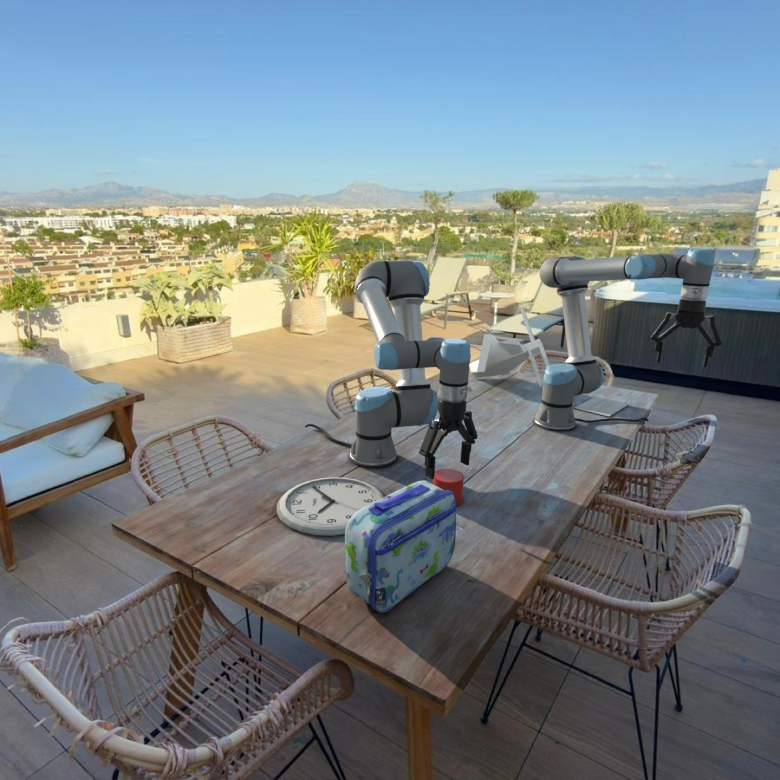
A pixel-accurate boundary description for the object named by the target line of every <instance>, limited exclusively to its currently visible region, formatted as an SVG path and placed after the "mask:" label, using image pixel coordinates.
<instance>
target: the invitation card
mask: <svg viewBox="0 0 780 780" xmlns="http://www.w3.org/2000/svg"><path fill="white" fill-rule="evenodd" d="M628 406H629V404H627V403H623V402H618V401H614V400H609V399H605V398H601V397H596V396H593V397H592V398H590V399H588V400H586V401H584V402H582V403H580V404H578V405H575V406H574V407H573V409H575V410H581V411H584V412H587V413H593V414H596V415H600V416H604V417H608V418H610V417H611V416H613V415H614V414H616V413H617V412H619V411H621V410H623V409H624V408H626V407H628Z"/></svg>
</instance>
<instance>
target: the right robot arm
mask: <svg viewBox="0 0 780 780" xmlns="http://www.w3.org/2000/svg"><path fill="white" fill-rule="evenodd" d="M715 257H716V251H715V250H714V249H709V248H690V249H689V250H688V252H687V253H686V254H676V253H675V254H674V253H665V252H662V253H653V254H646V253H643V254H642V253H641V254H635V255H624V256H611V257H600V258H589V259H586V258H585V257H581V256H576V255H573V256H553V257H550V258H548V259H546V260H545V261H544V262H543V263H542V265H541V266H540V268H539V273H538V274H539V279H540V281H541V282H542V284H544V285H545V286H546V287H548V288H551V289H556V294H557V296H559V297H560V298H561V302H562V303H561V304H562V310H563V311H562V312H563V313H562V314H563V320H564V330H565V339H566V346H567V347H566V348H567V358H566V360H565V361H564V363H554V364H550V366H548V367H547V368H546V367H545V370H544V375H543V378H542V381H543V389H542V394H541V402H540V405H539V407H538V410H537V411H536V413H535V417H534V424H535V425H536V426H537V427H539V428H542V429H544V430H549V431H556V432H567V431H572V430H574V429H575V428H576V422H582V423H586V424H590V423H591V424H592V423H600V422H611V421H613V422H614V421H617V422H618V421H621V422H630V423H638V422H641V421H646V422H650V420H649V419H648V418H647V417H645V416H643V417H640V418H637V419H632V418H631V419H630V418H621V417H616V418H615V417H611V418H610V417H608V418H599V419H594V420H593V419H590V420H589V419H587V420H586V419H581V418H577V417H576V416H575V413H574V407H573V405H574V398H575V397H579V396H581V395H585V394H586V395H588V394H592V393H593V392H596V391H598V390H599V388H600V387H602V385H603V383H604V381H605V374H604V373H605V372H604V369H603V368H602V367H601V366H600V365H599V364H598V363H597V358H596V357H595V356H593V354H592V349H591V339H590V330H589V323H588V322H589V321H588V311H587V303H586V292H587V291H588V290H589V283H590V282H603V281H623V280H625V281H626V280H637V281H638V280H639V281H640V280H648V279H664V278H665V279H666V278H667V279H669V278H670V279H681V280H682V285H681V289H680V295H679V296H680V299H679V301H678V306H677V311H676V313H673V312H670V311H667V312H666V313H665V316H664V319H663V320H662V321H661V322H660V324H659V325H658V326H657V328H656V330H655V331H653V333H652V334H651V336H650V338H651V340H653V341H655V347H654V351H655V352H657V357H656V362H657V363H660V362H661V357H662V351H663V347H664V342H663V340H665V339H666V338H667V337H669V335H671V334H672V333H673V332H675V331H676V330H677V329H679V328H680V327H681V328H683V329H696V328H697V329H698V331H699V332H700V334H701V335H702V337H703V338H704V340H705V341H706V342H707V343H708V345H705V346H706V347H705V351H704V357H703V361H702V367H704V368H707V366H708V360H709V358H710V357H713V355H714V349H715V347H719V346H722V344H723V343H722V341H721V338H720V335H719V331H718V329H717V326H716V323H715V322H716V317H715V316H714V314H711V315H705V311H706V306H707V301H706V299H708V296H709V295H708V294H709V290H710V283H711V279H712V274H713V270H714V266H715ZM673 318H675V320H676V321H675V322H674V323H673V325H671V326H670V327H669V328H668V329H666V330H665V331H664V332H662V331H663V329H664V328H665V327H666V326H667V324H668V323H669V321H671V320H673ZM705 320H706V323H708V324H709V327H710V329H711V332H712V335H713V338H714V341H713V340H712V338H711V337H710V336H709V334H708V333H707V331H705V329H704V327H703V326H702V325H701V324H702V323H703V322H704V321H705ZM661 332H662V333H661ZM660 333H661V334H660ZM659 334H660V335H659Z"/></svg>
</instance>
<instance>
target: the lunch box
mask: <svg viewBox="0 0 780 780" xmlns="http://www.w3.org/2000/svg"><path fill="white" fill-rule="evenodd" d="M456 531H457V506H456V498H455V494H454V493H453V492H452V491H449V490H443V489H441V488H439V487H437V486H435V485H433V482H430V481H428V480H418V481H416V482H413V483H410V484H409V485H406V486H405V487H402V488H400V489H398V490H396V491H394V492H392V493H390V494H388V495H385V497H384V498H382V499H380V500H378V501H376V502H374V503H372V504H370V505H368V506H366V507H364V508H362V509H360V510H358V511H357V512H355V513H354V514H353V515H352V517H351V518H350V520H349V522H348V524H347V527H346V531H345V534H344V552H345V577H346V578H345V580H346V586H347V589H348V592H349V593H350V594H352V595H354V596H356V597H357V598H359V599H361V600H363V602H365V603H367V604H368V605H370V607H371V608H372V609H373V610H375V611H376V612H378V613H380V614H382V613H383V614H385V613H387V612H389V611H391V609H393V608H394V607H395V606H396V605H397V604H400V602H401V601H402V600H404V599H406V597H409V596H410V595H411V594H412V593H414V592H415V591H416V590H417V589H418V588H420V587H421V586H422V585H423V584H424V583H425V582H427V581H428V580H430V579H432V578H433V577H434V576H436V575H437V574H439V573H441V572H442V571H443V570H445V568H446V567H447V566H448V564H449V563H450V561H451V560H452V557H453V554H454V551H455V548H456V547H455V546H456Z"/></svg>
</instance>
